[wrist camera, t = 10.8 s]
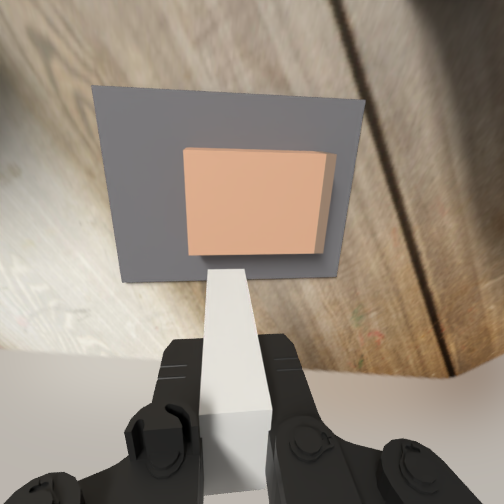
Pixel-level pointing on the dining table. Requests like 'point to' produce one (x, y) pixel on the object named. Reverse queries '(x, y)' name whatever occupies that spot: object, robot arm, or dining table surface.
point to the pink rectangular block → (257, 200)
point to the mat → (211, 136)
